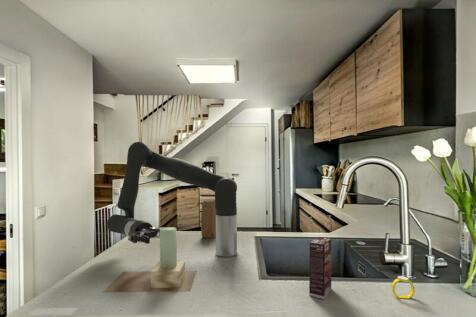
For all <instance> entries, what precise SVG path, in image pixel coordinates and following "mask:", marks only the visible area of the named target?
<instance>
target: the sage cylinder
mask: <svg viewBox="0 0 476 317" xmlns="http://www.w3.org/2000/svg"><path fill="white" fill-rule="evenodd" d="M177 245H178V244H177V227H173V226H172V227H169V226H168V227H166V228H162V229H160V238H159V248H160V249H159V258H160V260H159V262H160V268H162V269H172V268H175V267H176V266H177V260H178V258H177V257H178V256H177V254H178V253H177Z"/></svg>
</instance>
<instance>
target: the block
mask: <svg viewBox="0 0 476 317" xmlns="http://www.w3.org/2000/svg"><path fill="white" fill-rule="evenodd" d="M200 210H201V212H200V217H201V218H200V223H201V224H200V230H201V237H202V238H204V239H214V238H216V209H215V198H214V199H213V198H212V199H208V198H207V199H204V200H203V201H202V202H201V209H200Z"/></svg>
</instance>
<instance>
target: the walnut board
mask: <svg viewBox="0 0 476 317" xmlns="http://www.w3.org/2000/svg"><path fill="white" fill-rule="evenodd" d="M151 271H152V270H150V271H123V272H122V273H121V274H120V275H119V276H117V277H116V279H114V281H113V282H112V283H110V285H108V287H106V289H105V290H104V291H103V293H138V292H139V293H142V292H144V293H146V292H147V293H150V292H151V293H153V292H155V293H156V292H190V291H191V289H192V286H193V283H194V280H195V277H196V275H197V270H185V277H184V279H183V281H182V284H181V286H180V288H151Z"/></svg>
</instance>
